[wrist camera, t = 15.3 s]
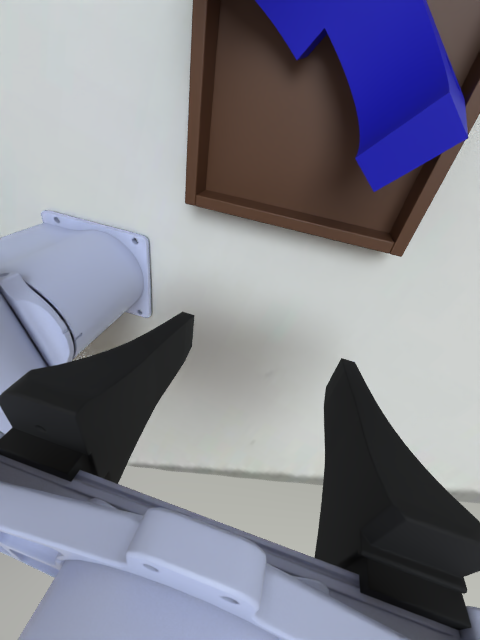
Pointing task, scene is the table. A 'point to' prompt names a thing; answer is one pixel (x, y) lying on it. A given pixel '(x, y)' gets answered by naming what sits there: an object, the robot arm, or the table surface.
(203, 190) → the tray
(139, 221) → the table surface
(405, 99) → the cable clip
